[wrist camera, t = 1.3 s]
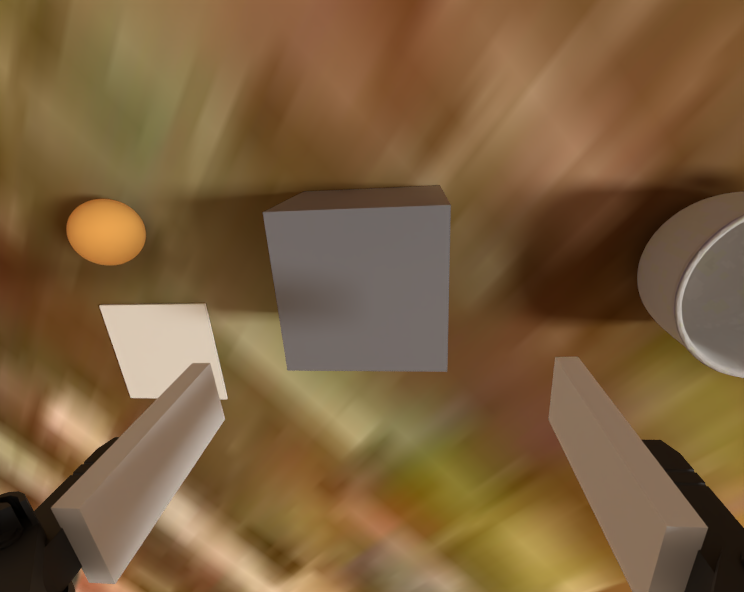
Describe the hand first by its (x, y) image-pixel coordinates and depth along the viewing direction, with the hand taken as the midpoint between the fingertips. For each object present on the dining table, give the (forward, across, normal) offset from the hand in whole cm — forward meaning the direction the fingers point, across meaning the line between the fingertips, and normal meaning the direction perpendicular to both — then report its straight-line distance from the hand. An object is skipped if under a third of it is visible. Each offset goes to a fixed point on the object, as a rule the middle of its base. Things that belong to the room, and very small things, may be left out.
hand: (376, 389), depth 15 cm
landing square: (+17, -22, -8) cm, 29 cm away
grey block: (+17, -2, +1) cm, 17 cm away
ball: (+15, -22, +4) cm, 26 cm away
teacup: (+18, +23, 0) cm, 29 cm away
